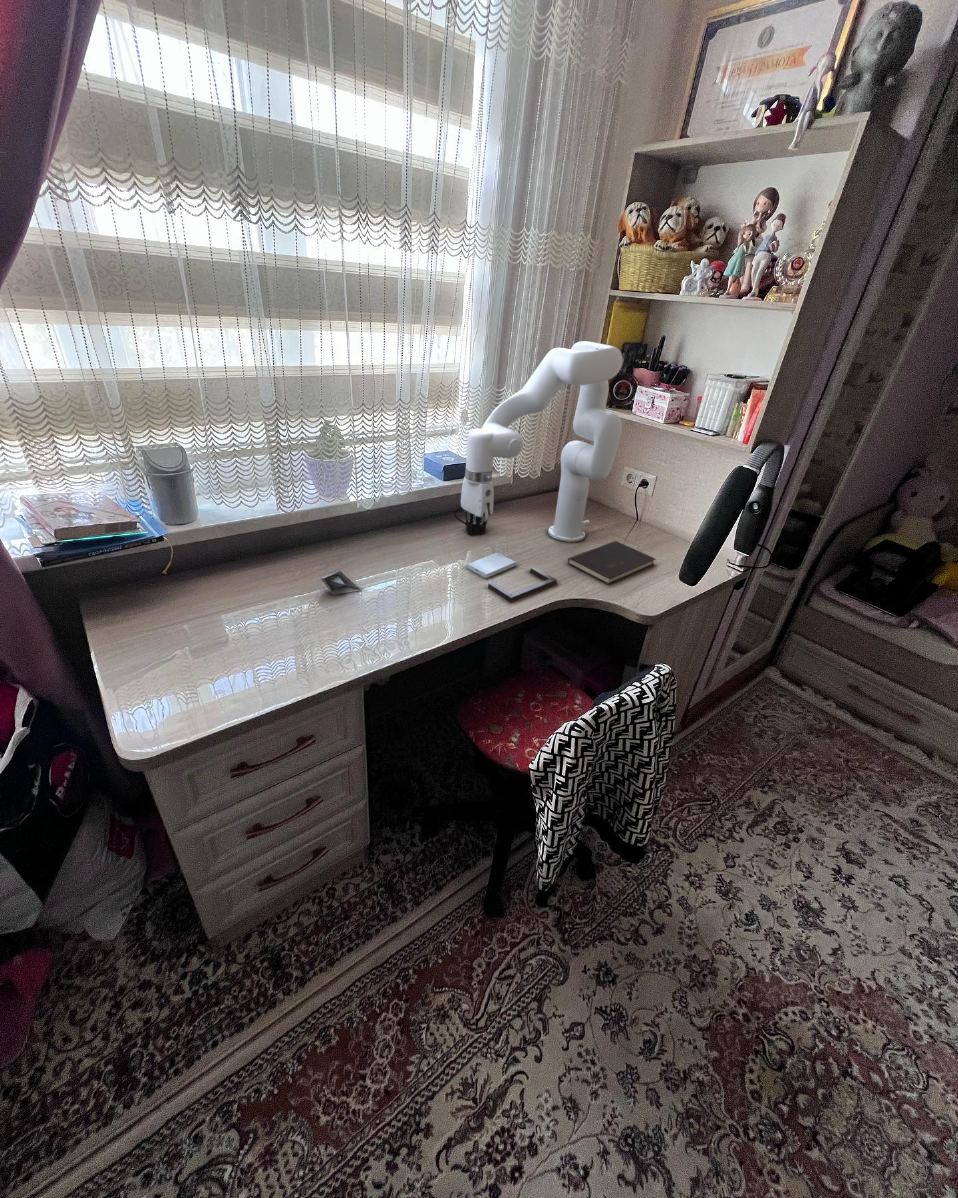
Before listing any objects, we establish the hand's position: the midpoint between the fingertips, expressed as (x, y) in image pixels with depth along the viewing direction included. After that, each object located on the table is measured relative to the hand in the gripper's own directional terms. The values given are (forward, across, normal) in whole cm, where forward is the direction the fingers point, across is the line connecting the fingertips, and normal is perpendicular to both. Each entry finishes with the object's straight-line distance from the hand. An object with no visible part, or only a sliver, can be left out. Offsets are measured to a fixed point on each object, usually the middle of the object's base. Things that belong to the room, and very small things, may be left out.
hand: (473, 534), depth 159 cm
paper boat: (+8, +2, +43) cm, 44 cm away
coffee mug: (+8, +15, -13) cm, 21 cm away
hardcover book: (+7, -28, -34) cm, 44 cm away
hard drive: (+8, -9, -1) cm, 12 cm away
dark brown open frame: (+7, -22, -1) cm, 23 cm away
